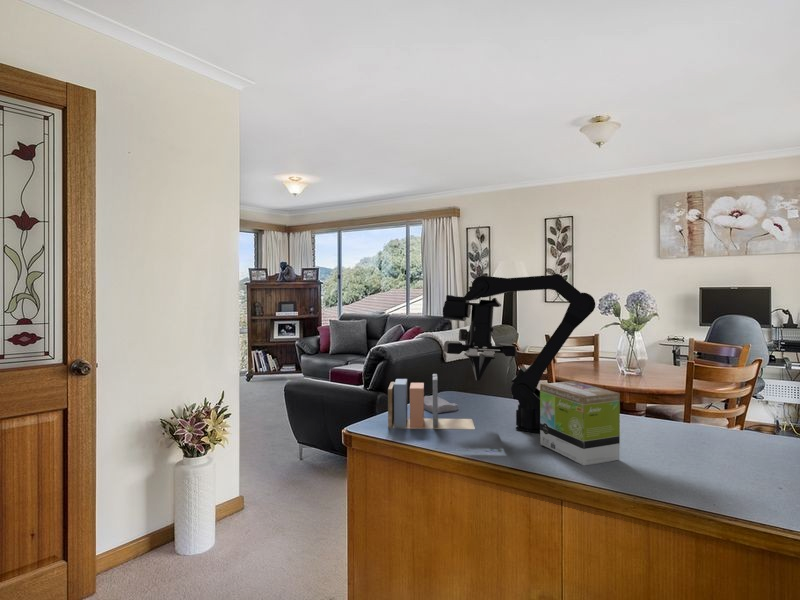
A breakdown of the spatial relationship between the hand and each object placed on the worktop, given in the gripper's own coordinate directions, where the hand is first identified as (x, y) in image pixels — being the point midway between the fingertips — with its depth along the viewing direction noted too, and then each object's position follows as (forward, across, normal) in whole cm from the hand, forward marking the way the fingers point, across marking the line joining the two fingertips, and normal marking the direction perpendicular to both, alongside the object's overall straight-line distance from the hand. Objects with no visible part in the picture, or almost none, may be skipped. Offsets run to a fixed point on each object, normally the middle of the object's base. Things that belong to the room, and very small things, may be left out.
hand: (477, 380), depth 135 cm
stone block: (+13, +7, -15) cm, 22 cm away
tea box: (+10, -17, +26) cm, 33 cm away
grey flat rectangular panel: (+11, +11, +2) cm, 16 cm away
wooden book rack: (+13, +12, +2) cm, 18 cm away
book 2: (+12, +16, +2) cm, 20 cm away
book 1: (+12, +20, +1) cm, 24 cm away
